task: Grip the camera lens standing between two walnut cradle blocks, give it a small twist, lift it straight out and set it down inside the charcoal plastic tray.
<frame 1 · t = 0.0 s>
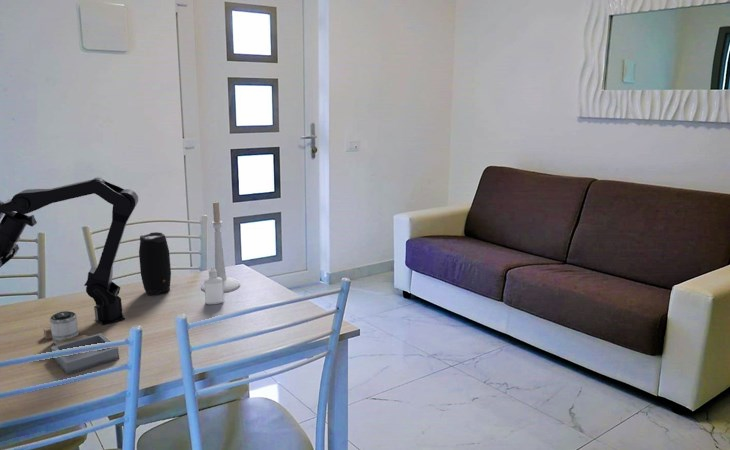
tray: (85, 358, 140), on the table
eye dropper bottle: (214, 303, 177), on the table
camera lens: (66, 342, 150), on the table
portable speaker: (157, 292, 187), on the table
lens cradle: (66, 341, 150), on the table
candlestick: (221, 287, 192), on the table
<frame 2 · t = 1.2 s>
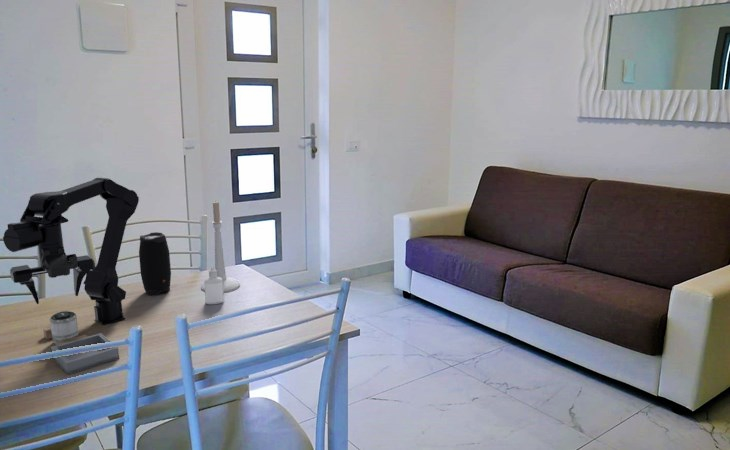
hand: (57, 299, 147), 12 cm above the table, tool pointing down, fingers open, 9 cm apart
nothing on the table moved.
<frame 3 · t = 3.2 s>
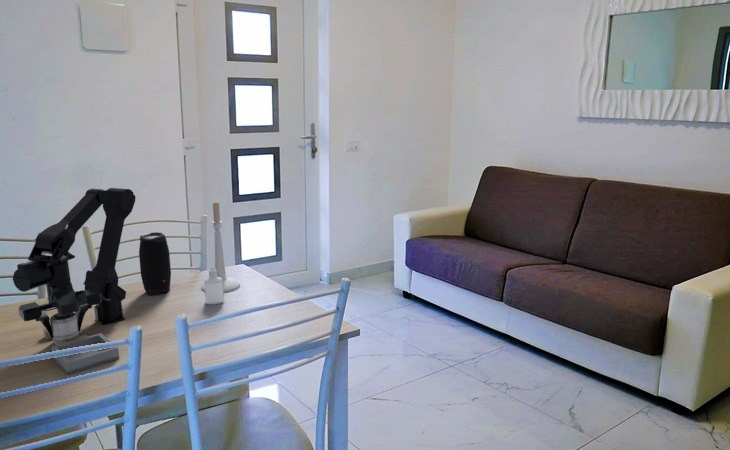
hand: (65, 334, 149), 2 cm above the table, tool pointing down, fingers closed on camera lens, 6 cm apart
camera lens: (66, 341, 150), on the table, touching gripper
everything else where it was.
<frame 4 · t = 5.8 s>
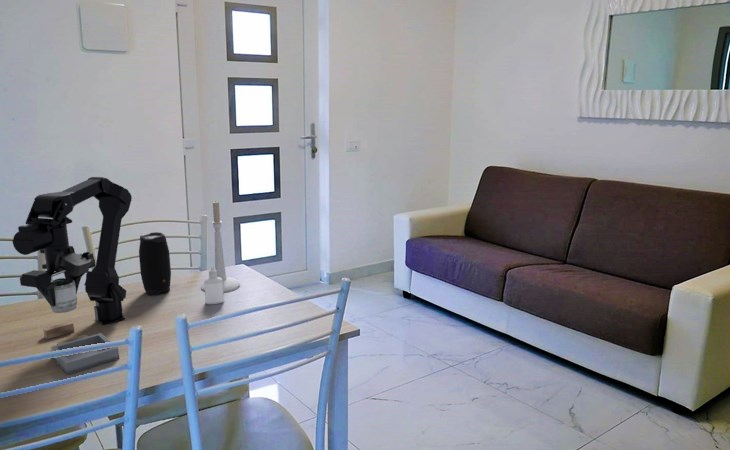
hand: (63, 301, 145), 12 cm above the table, tool pointing down, fingers closed on camera lens, 6 cm apart
camera lens: (64, 309, 146), point 10 cm above the table, touching gripper
everything else where it was.
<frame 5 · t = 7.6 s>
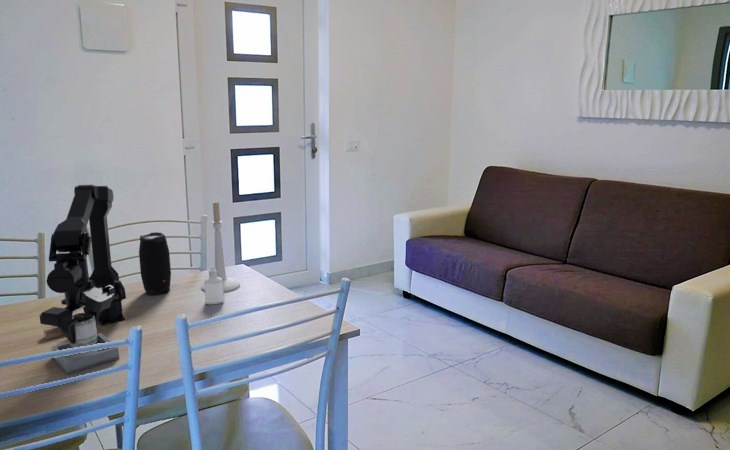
hand: (83, 337, 139), 6 cm above the table, tool pointing down, fingers closed on camera lens, 6 cm apart
camera lens: (84, 345, 140), point 3 cm above the table, touching gripper
everything else where it was.
when the fingers open (5 cm above the table, at t = 8.7 s): camera lens drops 2 cm, resting on tray.
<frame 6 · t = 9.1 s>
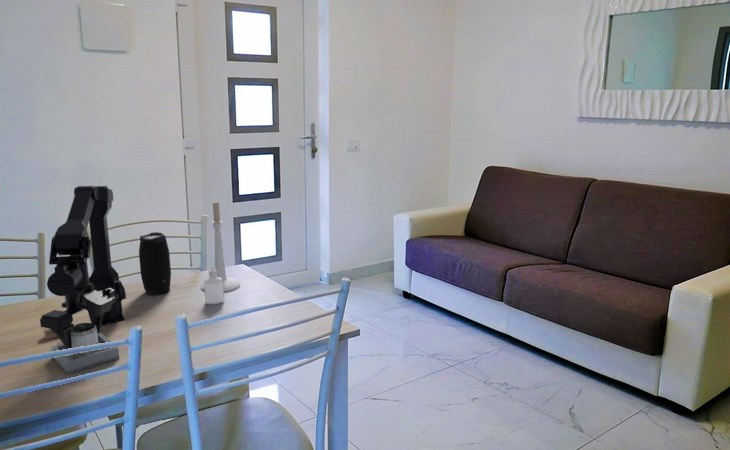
hand: (83, 340, 139), 5 cm above the table, tool pointing down, fingers open, 9 cm apart
camera lens: (85, 355, 141), point 1 cm above the table, touching tray
everything else where it was.
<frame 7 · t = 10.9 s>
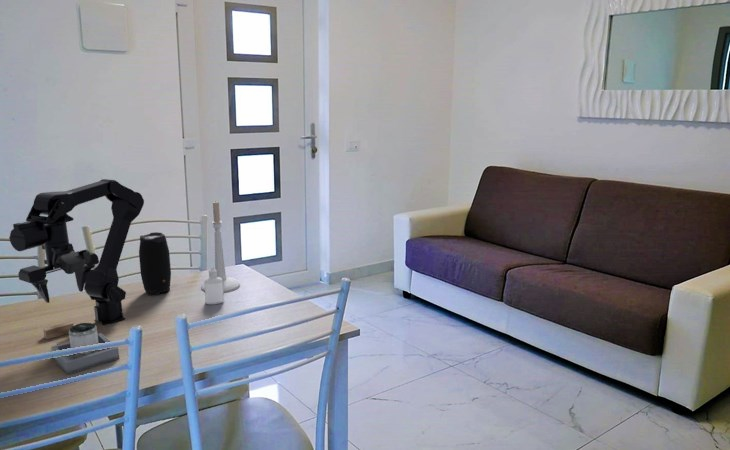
hand: (64, 296, 149), 12 cm above the table, tool pointing down, fingers open, 9 cm apart
nothing on the table moved.
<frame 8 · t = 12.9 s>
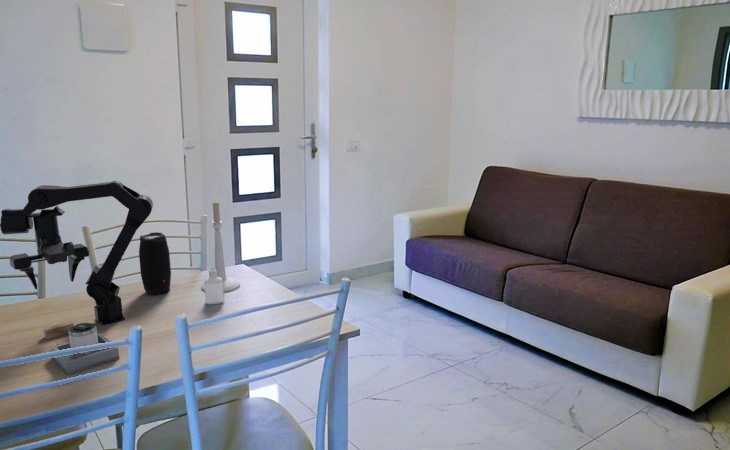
hand: (54, 285, 158), 12 cm above the table, tool pointing down, fingers open, 9 cm apart
nothing on the table moved.
at the end: camera lens inside the target area on the tray (0.2 cm from its centre), point 0.6 cm above the tray's base; camera lens tilted 0°; the gripper is holding nothing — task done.
